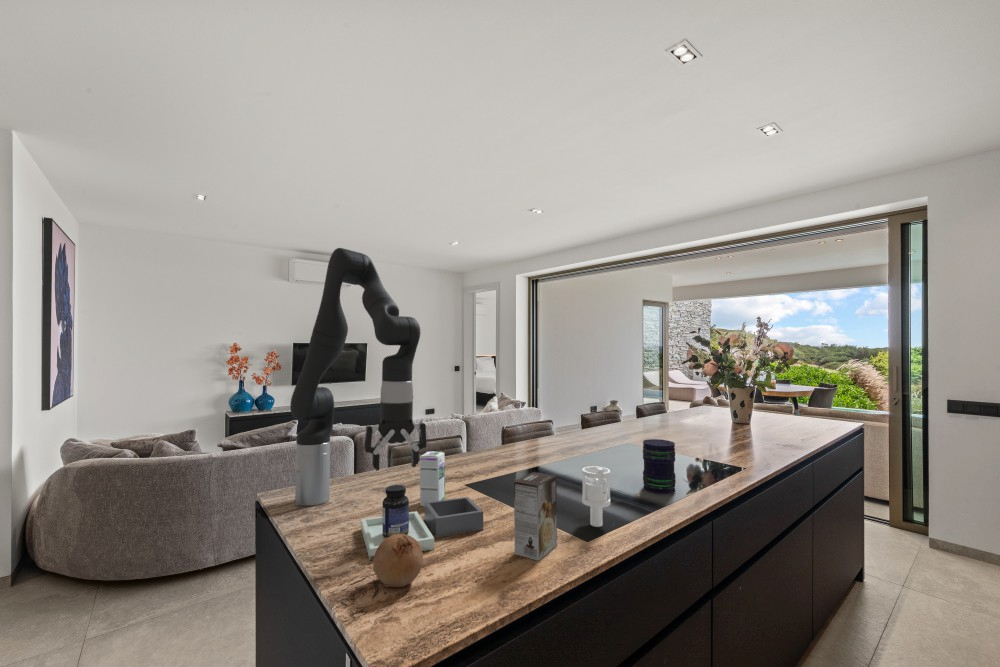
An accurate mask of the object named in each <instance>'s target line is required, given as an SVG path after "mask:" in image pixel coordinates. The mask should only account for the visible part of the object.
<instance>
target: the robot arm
mask: <svg viewBox="0 0 1000 667" xmlns="http://www.w3.org/2000/svg"><path fill="white" fill-rule="evenodd" d="M343 283H345V284H349V285H354V286H360V287H361V288H362V289H363V292H362V296H361V302H362V305H363V307H364V309H365V311H366V313H367V314H368V315H369V317H370V318H371V321H372V324H373V328H374V335H375V338H376V340H377V341H378V342H379V343H380V344H382V345H384V346H399V348H398V350H397V352H396V353H395V354H392V355H388V356H385V357H384V358H383V360H382V363H381V364H382V368H381V371H382V372H381V387H380V409H379V412H380V413H379V415H380V416H379V424H378V425H370V424H367V425H366V426H365V436H364V447H363V449H364V451H365V452H366V453H369V454H372V457H371V458H372V459H371V460H372V462H371V464H372V467H373V469H374V470H375V471H379V470H380V461H381V460H380V459H381V458H380V457H381V455H380V452H381V451H382V449H383V448H384V447H386V444H390V445H391V444H396V443H400V444H402V443H405V442H407V444H409V446H410V447H411V452H410V453H411V454H410V455H411V456H410V465H411V468H416V467H417V465H418V464H419V460H420V456H419V453H420V450H422V449H426V448H427V425H426V424H425V423H424V422H423V421H419V422H418V423H414V422H413V411H414V410H413V409H414V408H413V406H414V404H413V403H414V389H413V387H414V386H413V363H414V360H415V356H416V352H417V348H418V345H419V342H420V337H421V326H420V323H419V322H418V320H417V319H416V318H415V317H412V316H401V315H400V309H399V306H398V305H397V303H396V302H395V301H394V299H393V298H392V296H390V294H389V293H388V291H387V290H386V288H385V287H384V284H383V283H382V281H381V278H380V276H379V273H378V271H377V269H376V267H375V264H374V262H373V261H372V259H371V258H370V257H369V256H368V255H366V254H364V253H361V252H359V251H358V252H357V251H355V250H350V249H347V248H343V247H338V248H335V249H334V250H333V252H332V253H331V255H330V257H329V260H328V265H327V270H326V274H325V280H324V285H323V286H324V287H323V291H322V296H321V300H320V305H319V308H318V312H317V315H316V319H315V321H314V322H315V323H314V326H313V329H312V332H311V335H310V339H309V340H310V341H309V345H308V348H307V351H306V352H307V353H306V356H305V359H304V361H303V365H302V367H301V368H302V369H301V372H300V374H299V376H298V380H297V382H296V384H295V387H294V389H293V392H292V395H291V399H290V404H289V405H290V406H289V407H290V408H289V409H290V414H291V415H292V418H293V419H294V420H296V421H302V422H303V421H309V420H310V421H309V424H308V425H307V426H306V427H305V428H304V429H301V430H300V431H299V432H298V433H297V434H296V451H295V453H296V454H295V456H296V457H295V458H296V459H295V460H296V462H295V497H294V499H295V504H294V505H295V507H297V506H303V507H304V506H306V507H307V506H309V507H310V506H316V505H321V504H325V503H326V502H329V500H330V491H331V490H330V484H331V483H330V482H331V481H330V479H331V477H330V476H331V435H332V433H333V427H334V415H335V414H334V412H335V400H334V399H335V398H334V395H333V393H332V391H331V390H330V389H329V388H328V387H325V386H324V387H323V386H319V385H320V382H321V379H322V378H323V377H324V375H325V373H326V372H327V371H328V370H329V369H330V368H331V367H332V366H333V364H334V363H336V361H337V360H338V358H339V357H340V356H341V354H342V353H343V351H344V347H345V343H346V340H347V336H348V331H349V327H348V323H347V322H348V321H347V319H346V315H345V313H344V309H343V308H342V304H341V290H342V284H343ZM414 430H416V431H415V432H417V433H418V441H419V442H418V443H416V442H415V441H414V439H413V438H412V437H411V434H412V432H413V431H414ZM377 431H378V432H379V433H380V435H381V436H380V437H379V438H378V440H377V441H376V443H375V445H374V446H372V440H373V439H372V438H373V436H375V435H376V432H377Z"/></svg>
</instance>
